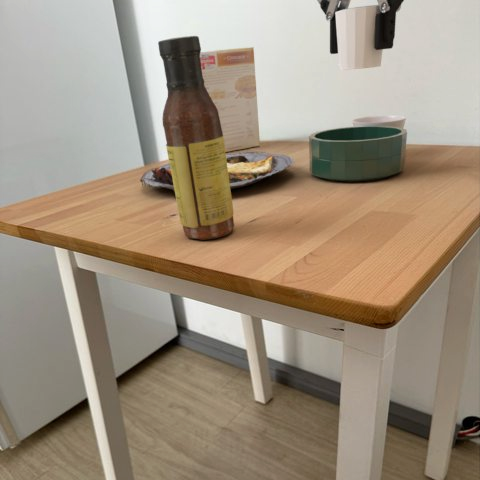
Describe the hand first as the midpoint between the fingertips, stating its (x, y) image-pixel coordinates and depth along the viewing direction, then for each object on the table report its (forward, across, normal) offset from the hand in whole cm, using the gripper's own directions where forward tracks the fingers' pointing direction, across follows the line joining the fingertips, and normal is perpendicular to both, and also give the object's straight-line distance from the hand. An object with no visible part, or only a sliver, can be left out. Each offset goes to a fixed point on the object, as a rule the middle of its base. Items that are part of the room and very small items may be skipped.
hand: (360, 50), depth 65 cm
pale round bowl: (+17, +7, -15) cm, 24 cm away
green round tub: (+17, +2, -3) cm, 18 cm away
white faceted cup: (+2, 0, 0) cm, 2 cm away
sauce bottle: (+17, -2, +30) cm, 35 cm away
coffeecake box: (+17, +42, -6) cm, 46 cm away
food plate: (+17, +18, +13) cm, 29 cm away
